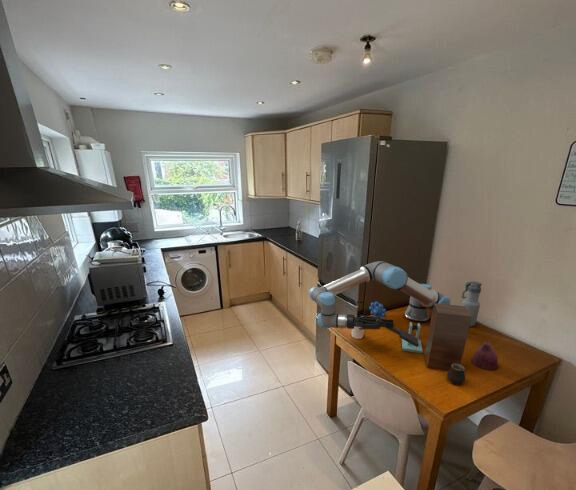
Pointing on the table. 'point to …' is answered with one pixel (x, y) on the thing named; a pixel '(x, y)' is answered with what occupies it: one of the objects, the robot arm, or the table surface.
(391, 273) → the robot arm
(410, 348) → the mounting bracket
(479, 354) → the purple beanie hat
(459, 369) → the mate gourd
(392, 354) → the table surface
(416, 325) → the black knobbed rod
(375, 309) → the grapes
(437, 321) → the shelf block
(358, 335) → the white cup
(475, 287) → the water bottle
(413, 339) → the spatula
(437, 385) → the table surface
